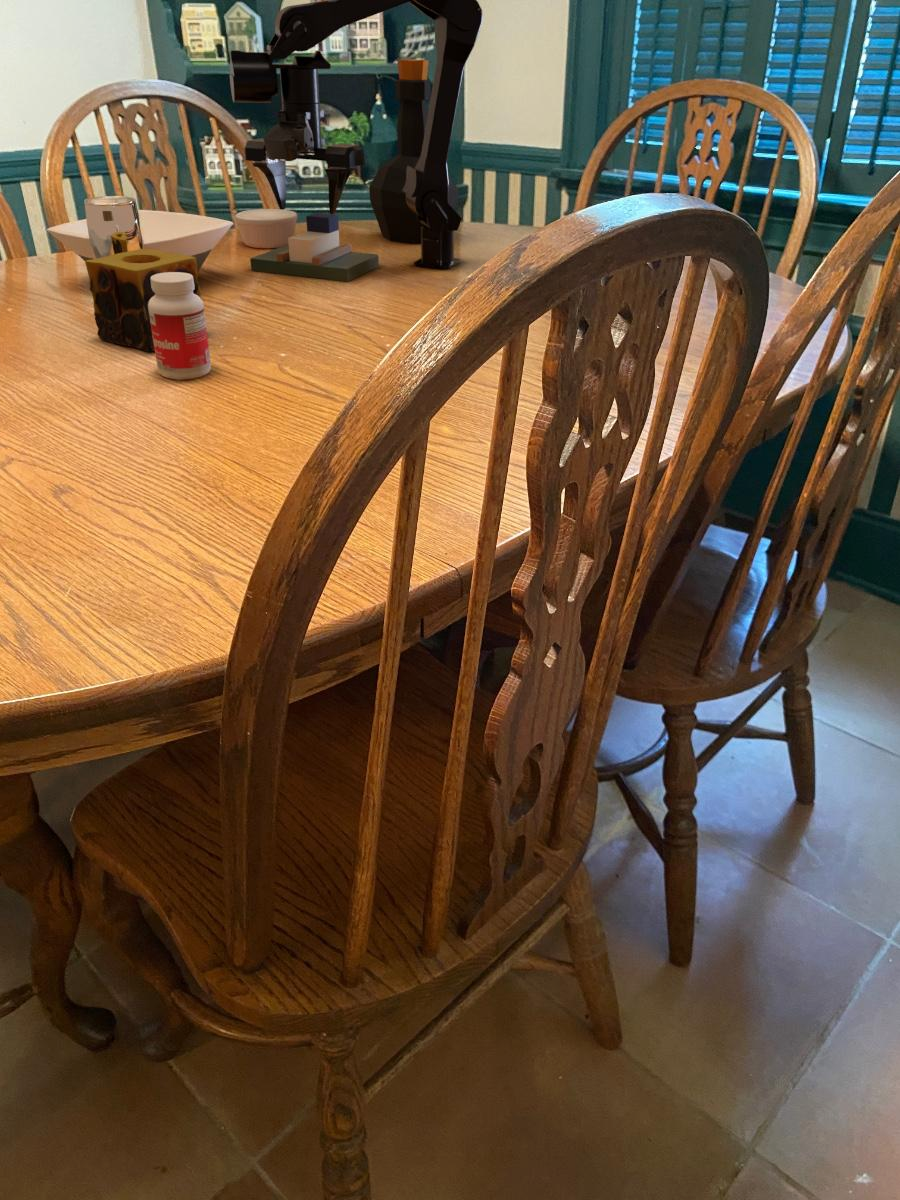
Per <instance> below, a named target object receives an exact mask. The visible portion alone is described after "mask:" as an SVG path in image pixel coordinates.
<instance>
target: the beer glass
mask: <svg viewBox="0 0 900 1200" xmlns="http://www.w3.org/2000/svg"><path fill="white" fill-rule="evenodd" d="M83 204H84V209H85V219H86V221H87V228H88V234H89V239H90V243H91V247H92V250H93V254H94V257H95V259H97V258H102V257H106V256H110V255H114V254H118V253H123V252H129V251H134V250H139V249H144V241H143V233H142V227H141V222H140V218H139V213H138V210H139V209H138V205H137V200H136V198H134V197H132V196H125V195H105V196H94V197H90V198H89V197H88V198H86V199H84V200H83Z"/></svg>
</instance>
